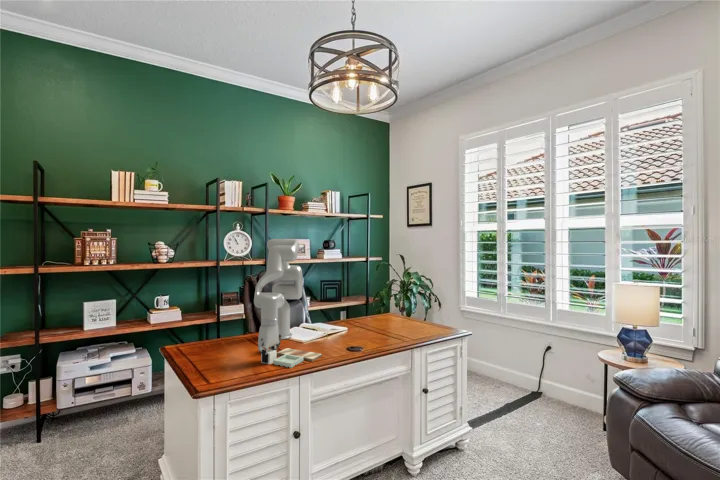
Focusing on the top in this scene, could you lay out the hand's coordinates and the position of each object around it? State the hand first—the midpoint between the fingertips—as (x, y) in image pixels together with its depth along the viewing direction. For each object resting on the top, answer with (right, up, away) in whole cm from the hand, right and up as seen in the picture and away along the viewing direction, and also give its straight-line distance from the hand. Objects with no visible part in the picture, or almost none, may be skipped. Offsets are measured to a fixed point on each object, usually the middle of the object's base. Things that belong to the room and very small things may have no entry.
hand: (268, 360), depth 174 cm
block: (0, -1, 0) cm, 1 cm away
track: (+13, -1, +10) cm, 16 cm away
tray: (+9, -1, -1) cm, 9 cm away
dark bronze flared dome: (-1, -1, +16) cm, 16 cm away
